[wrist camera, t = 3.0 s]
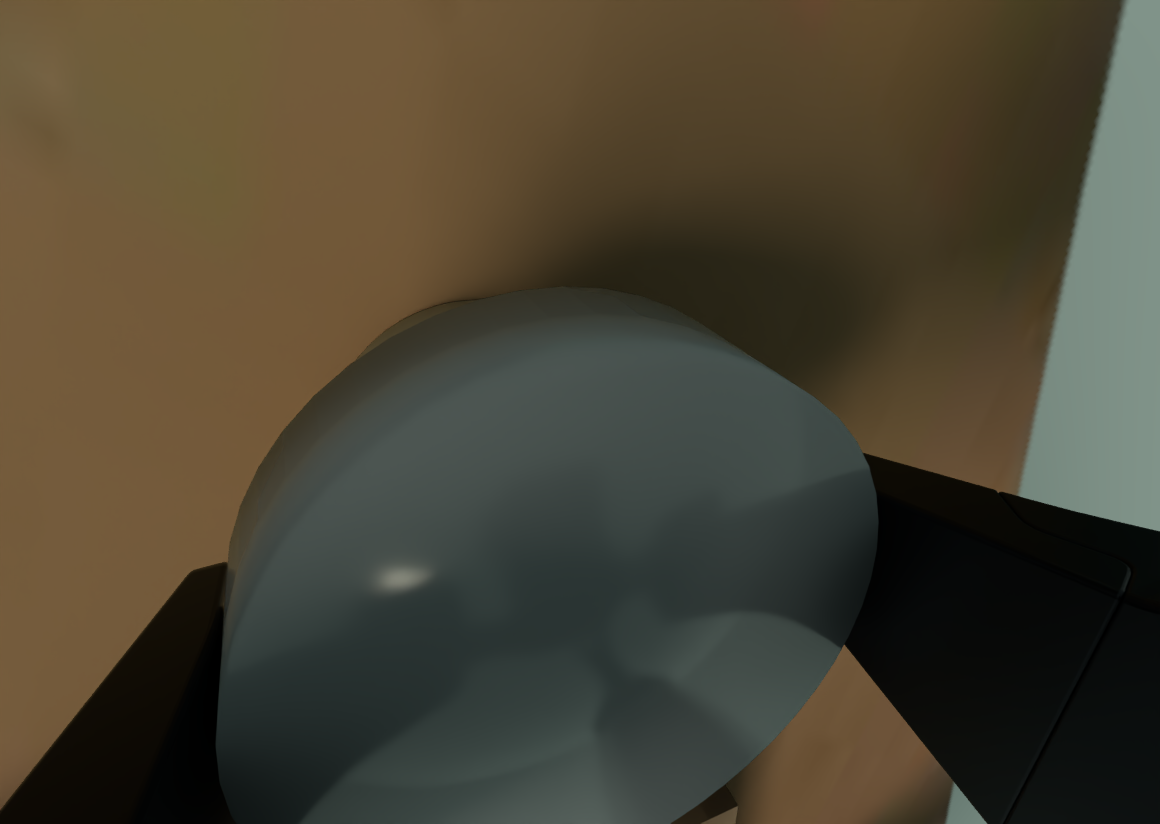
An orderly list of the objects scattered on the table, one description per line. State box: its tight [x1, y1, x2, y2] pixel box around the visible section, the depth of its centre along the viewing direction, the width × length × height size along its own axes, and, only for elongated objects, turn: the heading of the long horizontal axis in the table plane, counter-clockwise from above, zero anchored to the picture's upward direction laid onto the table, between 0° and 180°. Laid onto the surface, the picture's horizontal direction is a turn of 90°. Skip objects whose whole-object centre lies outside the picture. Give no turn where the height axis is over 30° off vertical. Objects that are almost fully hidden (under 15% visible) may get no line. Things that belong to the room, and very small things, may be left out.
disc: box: [216, 286, 879, 824], centre depth 8 cm, size 7×7×2 cm
